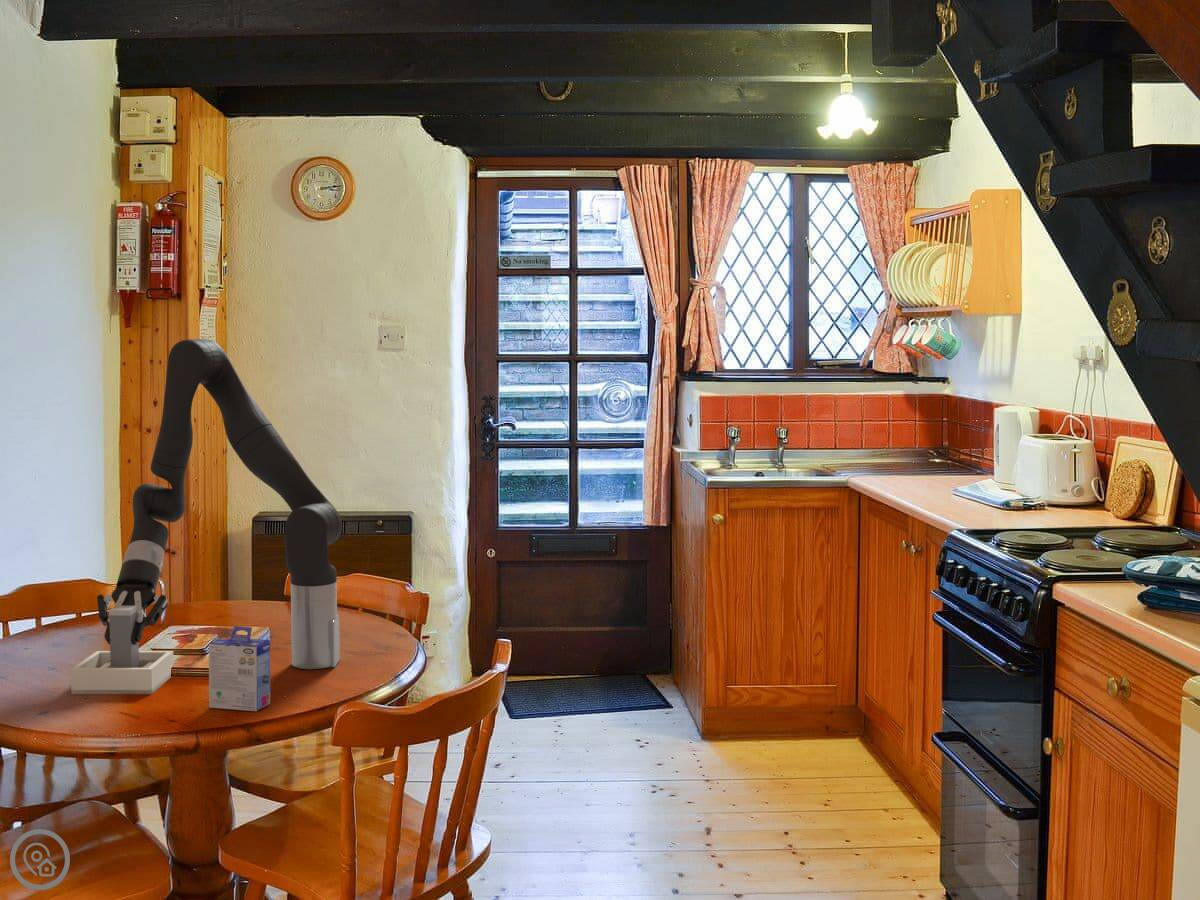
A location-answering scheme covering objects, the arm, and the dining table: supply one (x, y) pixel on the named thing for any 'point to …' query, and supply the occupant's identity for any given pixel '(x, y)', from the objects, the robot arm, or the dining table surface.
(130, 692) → the caddy
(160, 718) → the dining table surface
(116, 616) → the plug
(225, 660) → the ink cartridge box
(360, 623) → the dining table surface
